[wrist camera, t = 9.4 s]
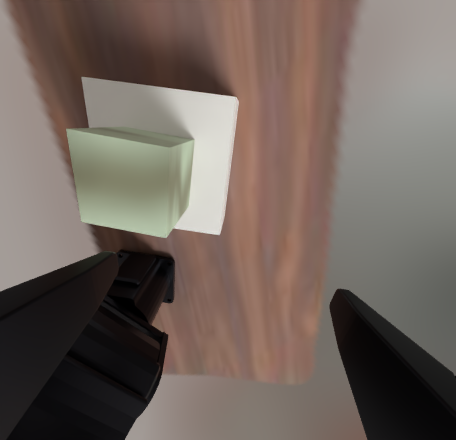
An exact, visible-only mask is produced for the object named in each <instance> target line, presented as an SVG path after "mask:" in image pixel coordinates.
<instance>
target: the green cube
mask: <svg viewBox="0 0 456 440" xmlns="http://www.w3.org/2000/svg"><path fill="white" fill-rule="evenodd" d="M66 131H67V137H68V143H69V149H70V156H71V162H72V168H73V174H74V180H75V186H76V193H77V199H78V205H79V211H80V217H81V222H84V223H89V224H95V225H100V226H105V227H110V228H116V229H121V230H126V231H131V232H137V233H142V234H147V235H152V236H158V237H163V238H166V237H167V236H168V235H169V233H170V232H171V231H172V229H173V228H174V226H175V225H176V224H177V222H178V221H179V219H180V218H181V217H182V215H183V214H184V212H185V211H186V210H187V208H188V207H189V198H190V187H191V176H192V164H193V153H194V141H195V140H194V139H189V138H183V137H178V136H172V135H167V134H161V133H156V132H151V131H145V130H140V129H134V128H129V127H98V128H71V129H66Z"/></svg>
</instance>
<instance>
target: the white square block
mask: <svg viewBox="0 0 456 440" xmlns="http://www.w3.org/2000/svg"><path fill="white" fill-rule="evenodd" d="M81 78H82V85H83V91H84V98H85V104H86V111H87V117H88V124H89V128H98V127H129V128H134V129H140V130H145V131H151V132H156V133H161V134H167V135H172V136H178V137H183V138H189V139H194V140H195V141H194V153H193V164H192V176H191V187H190V198H189V207H188V208H187V210H186V211H185V212H184V214H183V215H182V217H181V218H180V219H179V221H178V222H177V224H176V225H175V226H174V228H176V229H182V230H189V231H195V232H202V233H209V234H215V235H220V232H221V228H222V224H223V220H224V216H225V208H226V200H227V192H228V184H229V176H230V168H231V160H232V152H233V144H234V136H235V128H236V120H237V113H238V105H239V101H238V99H237V97H232V96H225V95H217V94H210V93H202V92H194V91H187V90H179V89H172V88H164V87H156V86H149V85H141V84H134V83H126V82H118V81H111V80H103V79H96V78H88V77H81Z"/></svg>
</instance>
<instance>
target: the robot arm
mask: <svg viewBox="0 0 456 440" xmlns="http://www.w3.org/2000/svg"><path fill="white" fill-rule="evenodd" d="M120 254H121V255H120ZM169 262H171V264H170V263H169ZM174 282H175V261H174V259H172V258H167V257H161V256H155V255H149V254H142V253H136V252H130V251H124V250H120V251H118V252H117V253H115V252H109V251H104V252H101V253H99V254H96V255H94V256H91V257H89V258H86V259H83V260H81V261H78V262H76V263H73V264H70V265H68V266H65V267H63V268H60V269H57V270H55V271H52V272H50V273H47V274H45V275H42V276H39V277H37V278H34V279H32V280H29V281H26V282H24V283H21V284H19V285H16V286H13V287H11V288H8V289H6V290H3V291H1V292H0V440H125V438H126V436H127V434H128V432H129V431H130V429H131V427H132V426H133V424H134V422H135V420H136V419H137V418H138V417H139V416H140V415H141V414H142V413H143V411H144V410H145V409H146V407H147V406H148V404H149V403H150V401H151V399H152V398H153V396H154V394H155V392H156V389H157V387H158V385H159V382H160V379H161V375H162V371H163V365H164V359H165V353H166V347H167V341H168V334H166V333H165V332H161V331H160V330H158V329H157V328H155V327H154V326H152V323H153V321H154V319H155V316H156V314H157V312H158V310H159V308H160V306H161V304H162V302H165V303H172V302H173V300H174ZM330 313H331V317H332V322H333V327H334V331H335V336H336V341H337V345H338V349H339V352H340V355H341V359H342V362H343V365H344V368H345V371H346V374H347V377H348V381H349V384H350V387H351V390H352V393H353V396H354V399H355V402H356V405H357V408H358V412H359V415H360V418H361V421H362V424H363V427H364V430H365V433H366V437H367V440H456V376H454V374H453V372H451V371H450V370H449V369H447V368H446V367H445V366H444V365H443V364H441V363H440V362H439V361H437V360H436V359H435V358H434V357H432V356H431V355H430V354H429V353H427V352H426V351H425V350H423V349H422V348H421V347H420V346H419V345H417V344H416V343H415V342H414V341H412V340H411V339H410V338H408V337H407V336H406V335H405V334H404V333H402V332H401V331H400V330H398V329H397V328H396V327H395V326H394V325H392V324H391V323H390V322H388V321H387V320H386V319H385V318H383V317H382V316H381V315H379V314H378V313H377V312H376V311H374V310H373V309H372V308H371V307H370V306H368V305H367V304H366V303H364V302H363V301H362V300H361V299H359V298H358V297H357V296H356V295H355V294H353V293H352V292H351V291H349V290H346V289H337V290H336V292H335V294H334V296H333V298H332V300H331V302H330Z"/></svg>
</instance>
